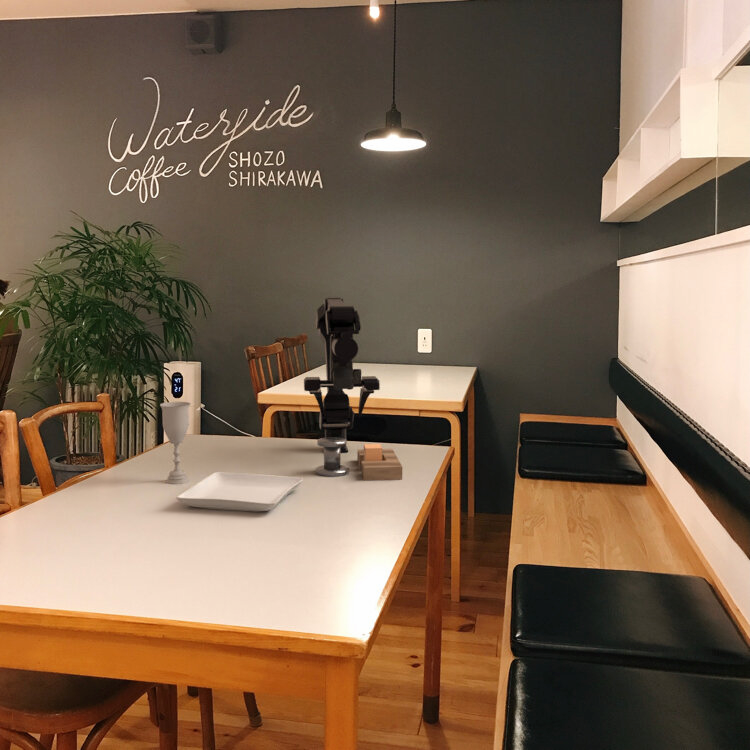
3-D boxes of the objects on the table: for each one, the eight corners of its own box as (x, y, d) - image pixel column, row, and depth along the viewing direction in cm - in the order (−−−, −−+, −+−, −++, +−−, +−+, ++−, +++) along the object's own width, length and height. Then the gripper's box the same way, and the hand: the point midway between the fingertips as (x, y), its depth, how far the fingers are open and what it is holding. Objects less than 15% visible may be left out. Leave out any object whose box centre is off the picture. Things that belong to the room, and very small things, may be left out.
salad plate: (274, 518, 162) (274, 501, 161) (174, 512, 166) (173, 495, 165) (305, 491, 182) (305, 476, 182) (215, 486, 186) (215, 471, 186)
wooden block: (363, 468, 203) (363, 444, 202) (379, 467, 203) (379, 443, 202) (365, 472, 198) (365, 448, 197) (382, 472, 198) (382, 448, 197)
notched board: (357, 460, 210) (357, 449, 210) (392, 460, 211) (392, 448, 211) (363, 480, 190) (363, 467, 190) (402, 479, 191) (402, 466, 191)
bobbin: (315, 469, 201) (315, 437, 200) (347, 468, 202) (347, 436, 201) (316, 477, 193) (315, 443, 192) (349, 476, 194) (349, 443, 193)
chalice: (188, 485, 185) (186, 406, 183) (158, 485, 186) (155, 406, 183) (195, 477, 193) (193, 401, 191) (167, 477, 193) (164, 401, 191)
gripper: (305, 360, 195) (305, 424, 198) (382, 359, 198) (382, 423, 200) (303, 354, 206) (303, 415, 209) (376, 354, 209) (376, 414, 211)
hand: (341, 417), depth 207 cm, fingers open, 9 cm apart
